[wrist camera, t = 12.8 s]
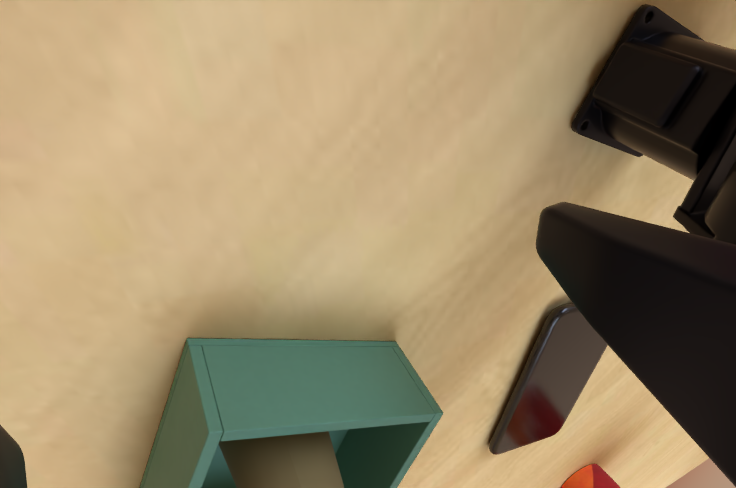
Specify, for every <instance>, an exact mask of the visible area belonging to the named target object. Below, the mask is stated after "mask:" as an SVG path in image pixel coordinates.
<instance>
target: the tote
mask: <svg viewBox="0 0 736 488" xmlns="http://www.w3.org/2000/svg"><path fill="white" fill-rule="evenodd" d="M442 415H443V412H442V410H441V409H440V407H439V406H438V404H437V403H436V401H435V400H434V398H433V397H432V395H431V394H430V392H429V390H428V389H427V387H426V386H425V384H424V383H423V381H422V380H421V378H420V377H419V375H418V374H417V372H416V371H415V369H414V368H413V366H412V365H411V363H410V362H409V360H408V359H407V357H406V356H405V354H404V353H403V351H402V350H401V348H400V347H399V345H398V344H397V342H396V341H336V340H271V339H207V338H187V340H186V343H185V346H184V349H183V353H182V356H181V359H180V362H179V365H178V368H177V371H176V375H175V378H174V381H173V384H172V387H171V390H170V393H169V397H168V400H167V403H166V406H165V409H164V412H163V416H162V419H161V422H160V425H159V428H158V431H157V434H156V438H155V441H154V444H153V447H152V450H151V453H150V457H149V460H148V463H147V466H146V469H145V472H144V475H143V479H142V482H141V485H140V488H237V487H236V484H235V482H234V480H233V477H232V475H231V473H230V470H229V468H228V466H227V463H226V461H225V459H224V456H223V454H222V451H221V449H220V447H219V441H231V440H242V439H252V438H263V437H273V436H284V435H294V434H305V433H315V432H326V431H329V434H330V438H331V442H332V445H333V449H334V452H335V456H336V460H337V463H338V467H339V471H340V474H341V478H342V481H343V485H344V488H397V487H398V485H399V484H400V482H401V481H402V479H403V477H404V476H405V474H406V473H407V471H408V469H409V468H410V466H411V465H412V463H413V461H414V460H415V458H416V457H417V455H418V453H419V452H420V450H421V448H422V447H423V445H424V444H425V442H426V440H427V439H428V437H429V436H430V434H431V432H432V431H433V429H434V428H435V426H436V424H437V423H438V421H439V420H440V418H441V416H442Z"/></svg>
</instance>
